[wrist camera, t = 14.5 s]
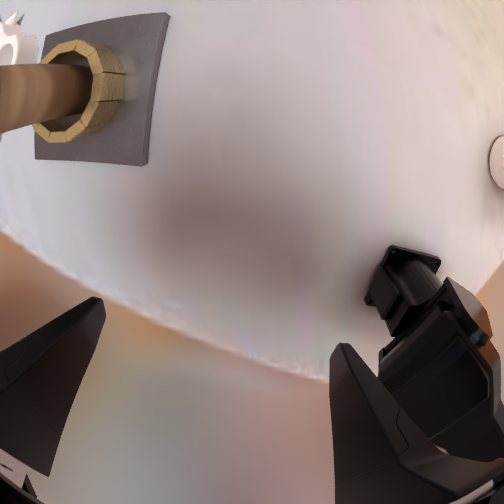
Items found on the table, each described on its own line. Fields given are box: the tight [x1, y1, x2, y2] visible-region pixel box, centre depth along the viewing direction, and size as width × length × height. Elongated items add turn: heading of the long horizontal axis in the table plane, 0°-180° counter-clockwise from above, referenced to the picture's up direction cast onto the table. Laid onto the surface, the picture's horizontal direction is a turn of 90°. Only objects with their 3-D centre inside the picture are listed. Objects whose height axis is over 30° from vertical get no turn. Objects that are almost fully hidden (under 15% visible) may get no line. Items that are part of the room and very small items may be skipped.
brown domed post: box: [0, 64, 93, 134], centre depth 10 cm, size 4×4×12 cm
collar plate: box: [32, 12, 170, 166], centre depth 14 cm, size 12×12×4 cm
